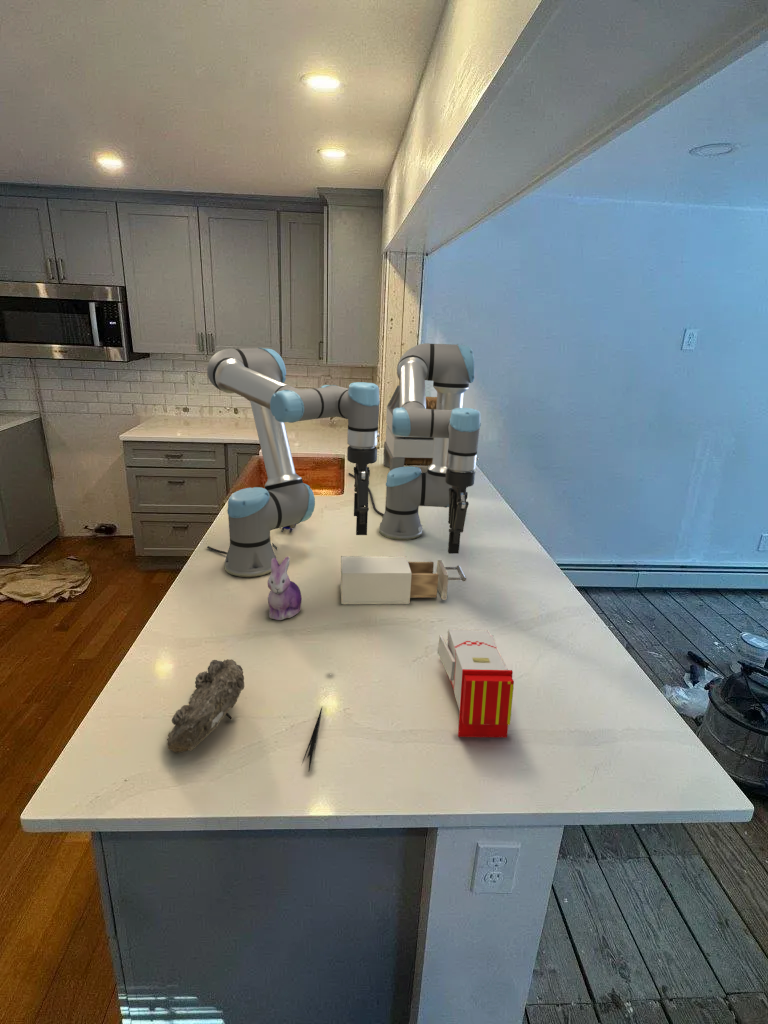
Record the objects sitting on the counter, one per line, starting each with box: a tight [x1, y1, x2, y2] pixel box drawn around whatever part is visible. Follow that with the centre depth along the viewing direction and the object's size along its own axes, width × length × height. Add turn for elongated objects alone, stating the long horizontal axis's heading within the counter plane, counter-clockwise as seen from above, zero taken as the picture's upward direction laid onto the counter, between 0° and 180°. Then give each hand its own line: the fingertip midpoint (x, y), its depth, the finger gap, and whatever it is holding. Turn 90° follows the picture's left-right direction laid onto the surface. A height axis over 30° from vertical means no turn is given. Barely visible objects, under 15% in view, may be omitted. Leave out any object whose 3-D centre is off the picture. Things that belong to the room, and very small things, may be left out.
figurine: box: [267, 556, 302, 621], centre depth 143 cm, size 9×10×15 cm
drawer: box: [408, 559, 467, 601], centre depth 157 cm, size 23×10×7 cm, turn 95°
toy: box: [437, 628, 515, 738], centre depth 117 cm, size 12×13×30 cm
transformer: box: [383, 384, 437, 472], centre depth 268 cm, size 34×33×41 cm
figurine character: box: [280, 524, 297, 533], centre depth 200 cm, size 7×8×15 cm
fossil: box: [166, 658, 245, 754], centre depth 106 cm, size 22×10×15 cm
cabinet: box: [340, 555, 412, 605], centre depth 155 cm, size 18×11×9 cm, turn 95°
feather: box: [301, 673, 332, 771], centre depth 108 cm, size 2×28×2 cm
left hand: (360, 524), depth 149 cm, fingers open, 13 cm apart
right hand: (453, 552), depth 155 cm, fingers closed
